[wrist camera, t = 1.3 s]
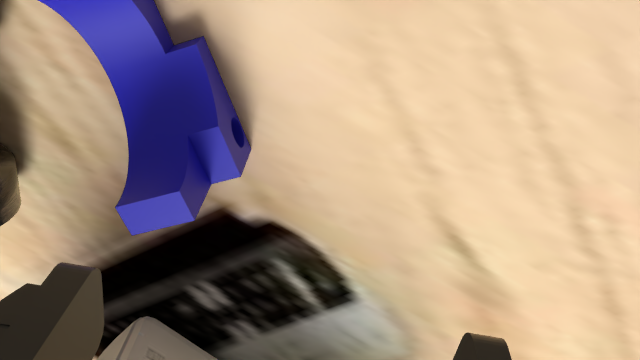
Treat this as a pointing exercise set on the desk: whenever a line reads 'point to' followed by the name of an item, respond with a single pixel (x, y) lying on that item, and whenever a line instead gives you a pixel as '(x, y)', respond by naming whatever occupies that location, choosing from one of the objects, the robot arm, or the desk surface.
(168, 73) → the cable clip
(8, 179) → the trolley
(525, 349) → the desk surface
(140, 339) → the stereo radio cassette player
